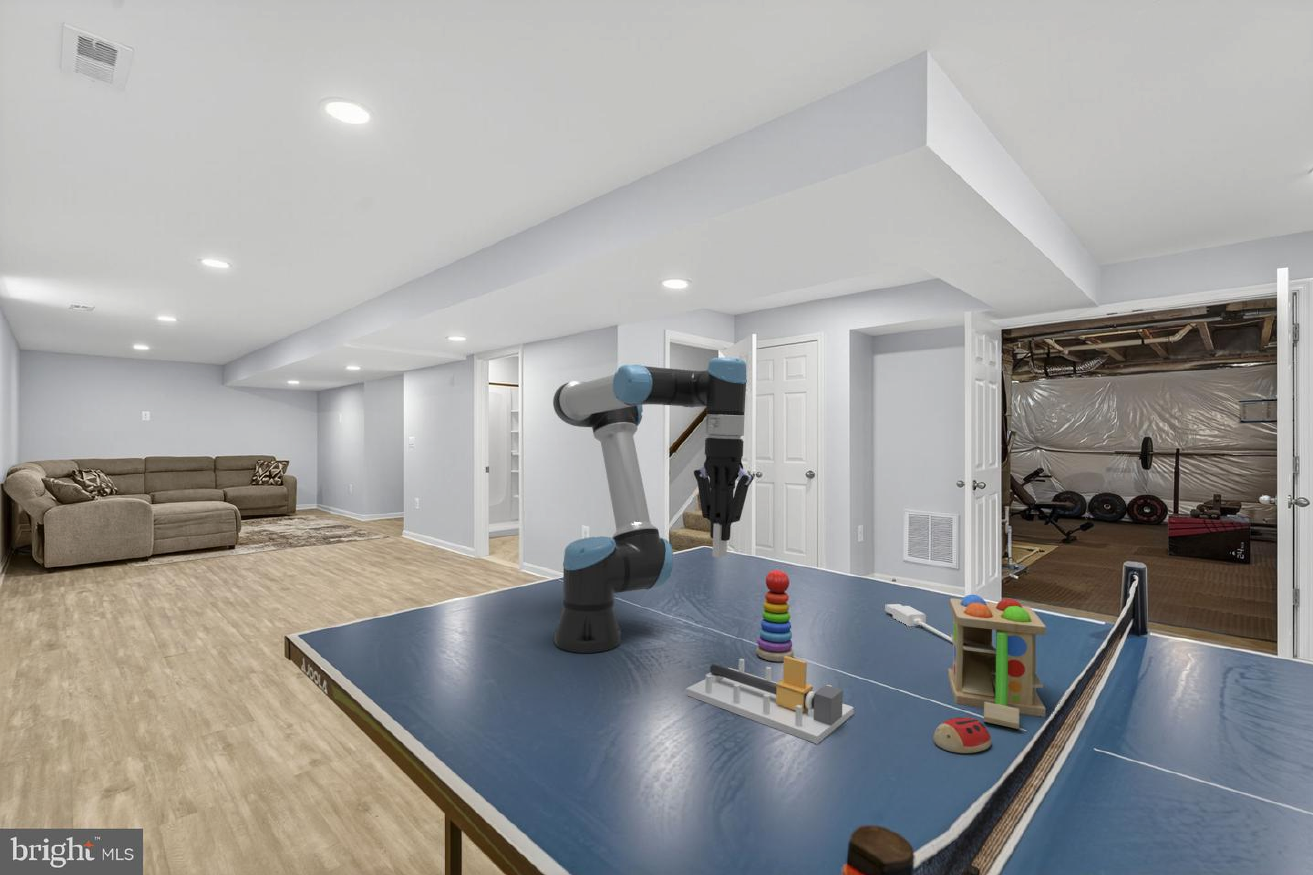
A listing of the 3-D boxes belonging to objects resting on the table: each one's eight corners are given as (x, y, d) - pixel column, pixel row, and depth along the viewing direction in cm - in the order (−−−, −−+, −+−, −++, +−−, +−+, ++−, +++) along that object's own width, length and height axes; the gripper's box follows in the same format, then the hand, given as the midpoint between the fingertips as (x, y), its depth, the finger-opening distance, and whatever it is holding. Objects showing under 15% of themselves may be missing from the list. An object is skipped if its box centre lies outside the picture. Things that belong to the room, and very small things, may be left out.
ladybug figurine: (922, 740, 97) (922, 718, 97) (966, 729, 101) (967, 708, 101) (958, 761, 91) (958, 737, 91) (1003, 748, 95) (1004, 726, 95)
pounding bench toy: (1058, 741, 97) (1061, 630, 97) (960, 724, 102) (962, 618, 102) (1028, 686, 119) (1030, 595, 119) (947, 675, 124) (949, 587, 124)
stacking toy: (793, 664, 127) (795, 575, 127) (755, 661, 129) (757, 573, 129) (793, 651, 135) (794, 568, 135) (756, 648, 137) (758, 565, 137)
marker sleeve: (776, 703, 105) (777, 658, 105) (786, 697, 108) (787, 652, 108) (802, 712, 102) (803, 665, 102) (812, 705, 105) (813, 660, 105)
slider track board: (685, 694, 111) (686, 664, 111) (728, 673, 122) (729, 645, 122) (817, 744, 94) (818, 708, 94) (853, 713, 105) (854, 681, 105)
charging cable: (967, 662, 134) (968, 647, 134) (883, 613, 166) (884, 601, 166) (987, 660, 135) (987, 646, 135) (900, 612, 167) (900, 600, 167)
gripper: (686, 435, 121) (681, 552, 121) (742, 439, 112) (736, 565, 113) (708, 435, 126) (704, 547, 127) (763, 438, 118) (757, 559, 118)
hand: (719, 555), depth 120 cm, fingers closed
